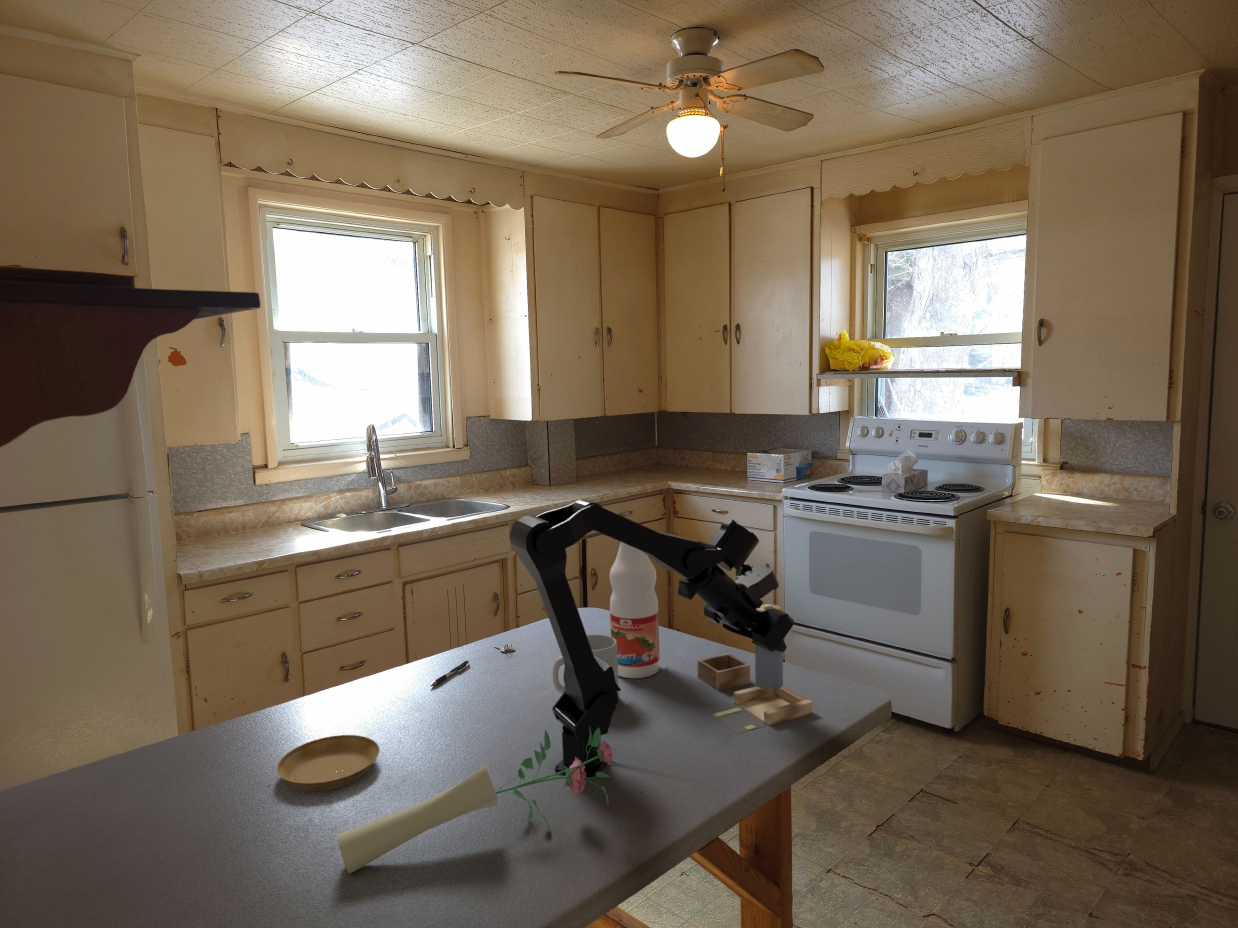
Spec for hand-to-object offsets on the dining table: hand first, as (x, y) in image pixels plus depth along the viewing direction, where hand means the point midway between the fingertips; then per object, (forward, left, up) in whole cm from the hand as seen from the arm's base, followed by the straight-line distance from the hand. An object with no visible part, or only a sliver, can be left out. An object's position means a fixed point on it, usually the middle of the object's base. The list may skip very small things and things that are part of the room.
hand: (775, 645), depth 136 cm
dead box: (+8, +12, -12) cm, 18 cm away
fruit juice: (+8, +30, -12) cm, 33 cm away
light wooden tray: (-1, 0, -12) cm, 12 cm away
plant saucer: (-45, +57, -12) cm, 74 cm away
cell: (-1, +1, -7) cm, 7 cm away
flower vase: (-50, +25, -12) cm, 57 cm away
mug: (-9, +32, -12) cm, 35 cm away
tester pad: (-7, +4, -12) cm, 14 cm away
